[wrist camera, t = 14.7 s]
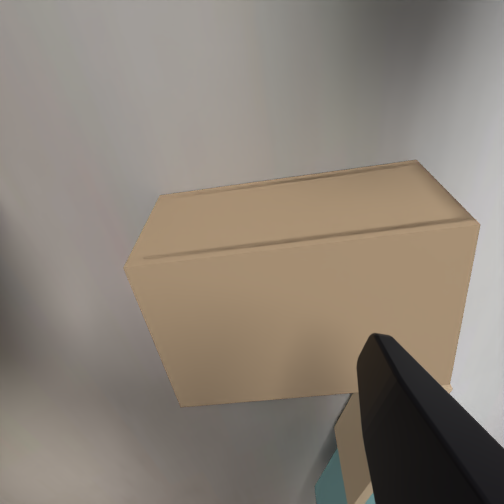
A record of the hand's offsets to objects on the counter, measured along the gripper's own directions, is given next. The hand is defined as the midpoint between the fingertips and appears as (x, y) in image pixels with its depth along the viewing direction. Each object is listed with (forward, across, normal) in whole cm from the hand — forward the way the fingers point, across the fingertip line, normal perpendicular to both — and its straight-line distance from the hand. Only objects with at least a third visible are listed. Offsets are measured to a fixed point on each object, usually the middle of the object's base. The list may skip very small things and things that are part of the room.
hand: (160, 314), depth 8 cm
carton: (+11, -5, +5) cm, 13 cm away
